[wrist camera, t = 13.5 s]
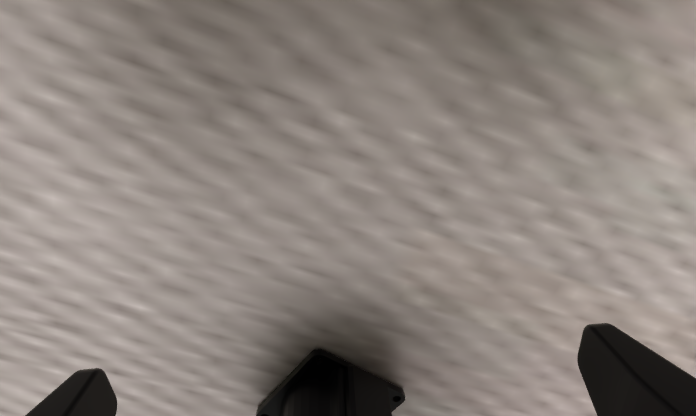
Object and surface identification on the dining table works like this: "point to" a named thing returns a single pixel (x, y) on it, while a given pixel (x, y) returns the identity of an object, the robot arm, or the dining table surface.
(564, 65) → the dining table surface
